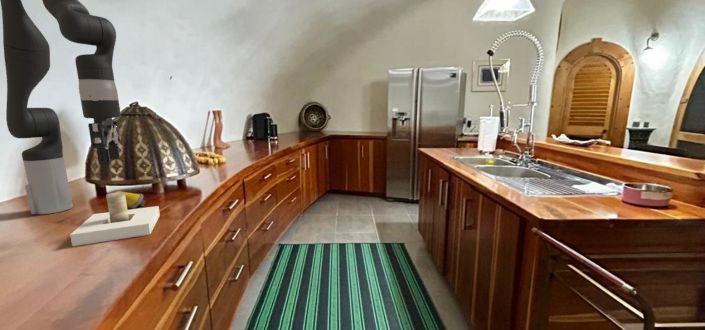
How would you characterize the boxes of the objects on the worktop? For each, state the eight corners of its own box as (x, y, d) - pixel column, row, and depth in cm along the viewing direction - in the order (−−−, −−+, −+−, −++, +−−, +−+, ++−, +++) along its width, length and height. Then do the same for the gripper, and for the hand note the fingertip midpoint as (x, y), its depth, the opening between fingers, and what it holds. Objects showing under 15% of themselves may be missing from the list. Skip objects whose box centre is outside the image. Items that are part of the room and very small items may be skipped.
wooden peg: (110, 232, 82) (104, 196, 80) (114, 227, 86) (108, 193, 84) (128, 230, 84) (122, 194, 82) (131, 225, 87) (126, 191, 85)
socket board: (72, 246, 74) (70, 234, 74) (95, 224, 89) (93, 214, 88) (150, 234, 81) (148, 223, 80) (159, 215, 95) (158, 206, 94)
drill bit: (148, 209, 103) (118, 194, 96) (136, 214, 104) (107, 200, 97) (152, 196, 106) (124, 181, 99) (142, 201, 108) (113, 187, 101)
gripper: (91, 99, 83) (101, 158, 86) (69, 98, 70) (81, 168, 73) (125, 99, 86) (133, 156, 89) (109, 98, 73) (120, 165, 76)
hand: (110, 161), depth 81 cm, fingers open, 8 cm apart
